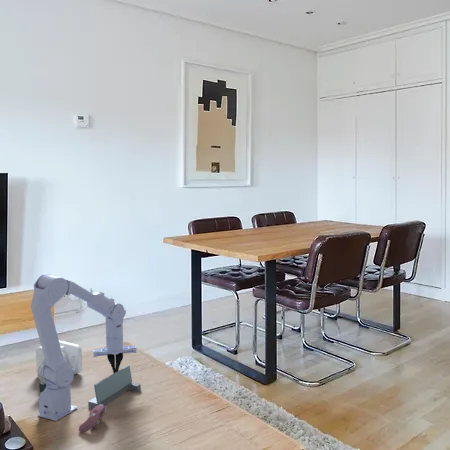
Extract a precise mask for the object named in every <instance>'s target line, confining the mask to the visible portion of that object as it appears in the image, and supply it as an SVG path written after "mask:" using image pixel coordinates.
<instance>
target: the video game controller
mask: <svg viewBox="0 0 450 450" xmlns="http://www.w3.org/2000/svg"><path fill="white" fill-rule="evenodd" d="M106 409H107V405H103V404H102V405H101V404H99V405H98V406H96V407H95V408H92V410H91V411H90V412H89V414H88V415H89V417H88V418H87V420H85V421H84V422H83V423H81V424H80V425H79V427H78V431H79V433H87V432H88V431H90V430H91V429H92V430H94V429H95V427H96V426H97V425H99V424H100V422H101V420H102V417H103V415H104V414H105V412H106Z"/></svg>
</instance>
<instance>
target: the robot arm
mask: <svg viewBox="0 0 450 450" xmlns="http://www.w3.org/2000/svg"><path fill="white" fill-rule="evenodd" d="M32 295H33V296H32V299H31V304H30V309H31V314H32V316H33V317H32V318H33V320H34V324H35V326H36V327H35V328H36V330H37V336H38V339H39V342H40V346H42V350H43V353H44V357H45V359H44V360H43V361H42V363H43V370H42V374H43V377H44V379H45V380H46V388H45V390H44V391H43V392H39V393H40V394H39V395H38V409H39V410H38V411H39V412H38V414H37V416H38V417H40V418H43V419H47V420H48V419H49V420H52V421H59V420H60V419H62V418H63V417H65V416H67V415H69V414H70V413H72V412H73V411H75V410H76V409H78V406H76V405H72V393H71V383H72V382H73V380H74V376H75V374H74V372H73V370H72V369H71V368H70V367H69V365H68V362H67V360H66V359H65V358H64V356H63V354H62V351H61V347H60V343H59V337H58V332H57V328H56V324H55V321H54V318H53V317H54V316H53V314H52V309H53V306H55V304H56V303H57V302H59V301H60V300H61V299H62V298H63V297H64V296H70V295H72V296H73V297H76V298H78V299H80V300H82V301H85V302H86V303H87V304H86V305H87V307H88V308H89V309H92V310H94V311H95V312H97V313H99V314H100V315H102V316H103V317H105V345H106V347H103V348H102V347H101V348H97V349H93V351H92V353H93V358H96V357H101V356H106V357H107V358H106V359H107V360H108V363H109V364H110V366H111V370H112V372H113V373H112V374H114V373H115V372H117V371H119V370H120V367H121V364H122V362H123V359H124V354H131V353H132V354H137V346H136V345H124V327H123V326H124V325H123V323H124V318H125V316H126V314H127V310H126V309H125V307H124V305H123V304H121V303H119V302H115V299H114V298H109V297H107V296H105V293H104V292H102V291H95V292H91V291H89V290H87V289H86V288H84V287H82V286H81V285H79V284H77V283H76V282H74V281H72V280H68V279H66V278H63V277H60V276H55V275H52V274H50V273H43V274H41V275H40V276H39V277H38V278H37V280H36V281H35V282H34V284H33V294H32Z"/></svg>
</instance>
